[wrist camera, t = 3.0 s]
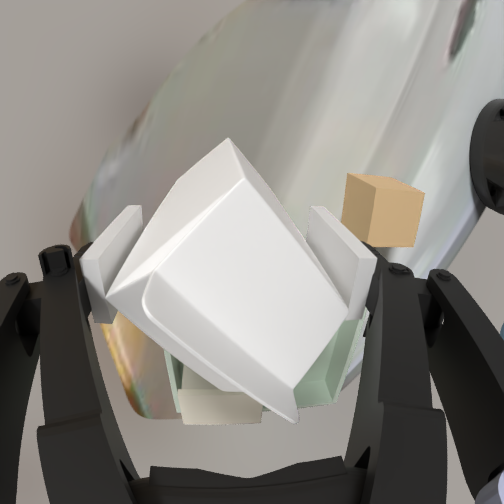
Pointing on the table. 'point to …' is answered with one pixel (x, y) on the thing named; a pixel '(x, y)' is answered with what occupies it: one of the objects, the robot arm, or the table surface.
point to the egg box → (214, 403)
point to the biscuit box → (381, 210)
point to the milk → (230, 283)
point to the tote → (316, 378)
